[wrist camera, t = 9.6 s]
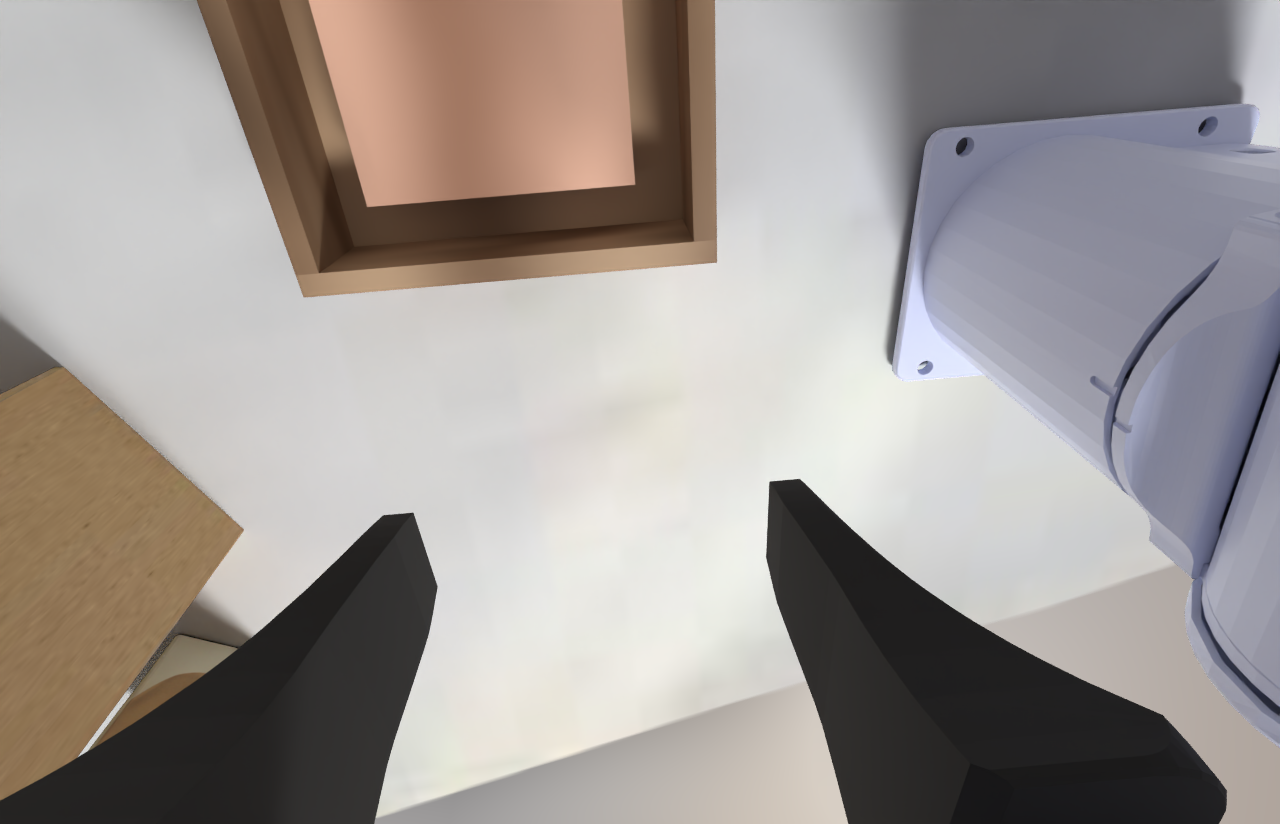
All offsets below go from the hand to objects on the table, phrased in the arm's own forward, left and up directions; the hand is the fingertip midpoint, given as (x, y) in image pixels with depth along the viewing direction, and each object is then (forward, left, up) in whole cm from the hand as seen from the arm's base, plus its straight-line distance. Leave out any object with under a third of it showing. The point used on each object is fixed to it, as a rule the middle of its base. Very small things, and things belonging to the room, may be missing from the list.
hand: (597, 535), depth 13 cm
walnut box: (+2, -8, -9) cm, 13 cm away
